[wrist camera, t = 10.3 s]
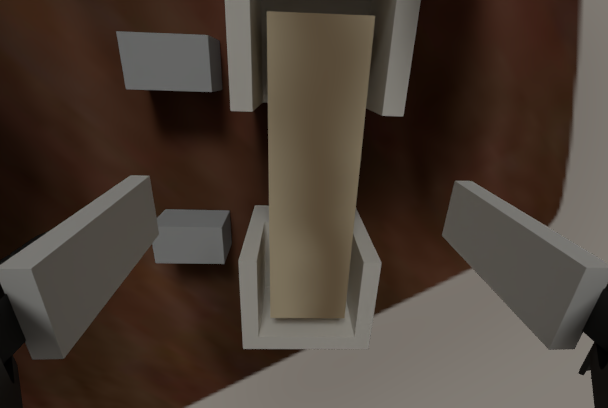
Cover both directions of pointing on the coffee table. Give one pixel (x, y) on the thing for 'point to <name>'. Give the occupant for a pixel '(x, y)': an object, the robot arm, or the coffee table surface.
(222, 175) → the coffee table surface
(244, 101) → the bracket pair
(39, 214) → the coffee table surface
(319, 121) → the rail
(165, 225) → the rest blocks
